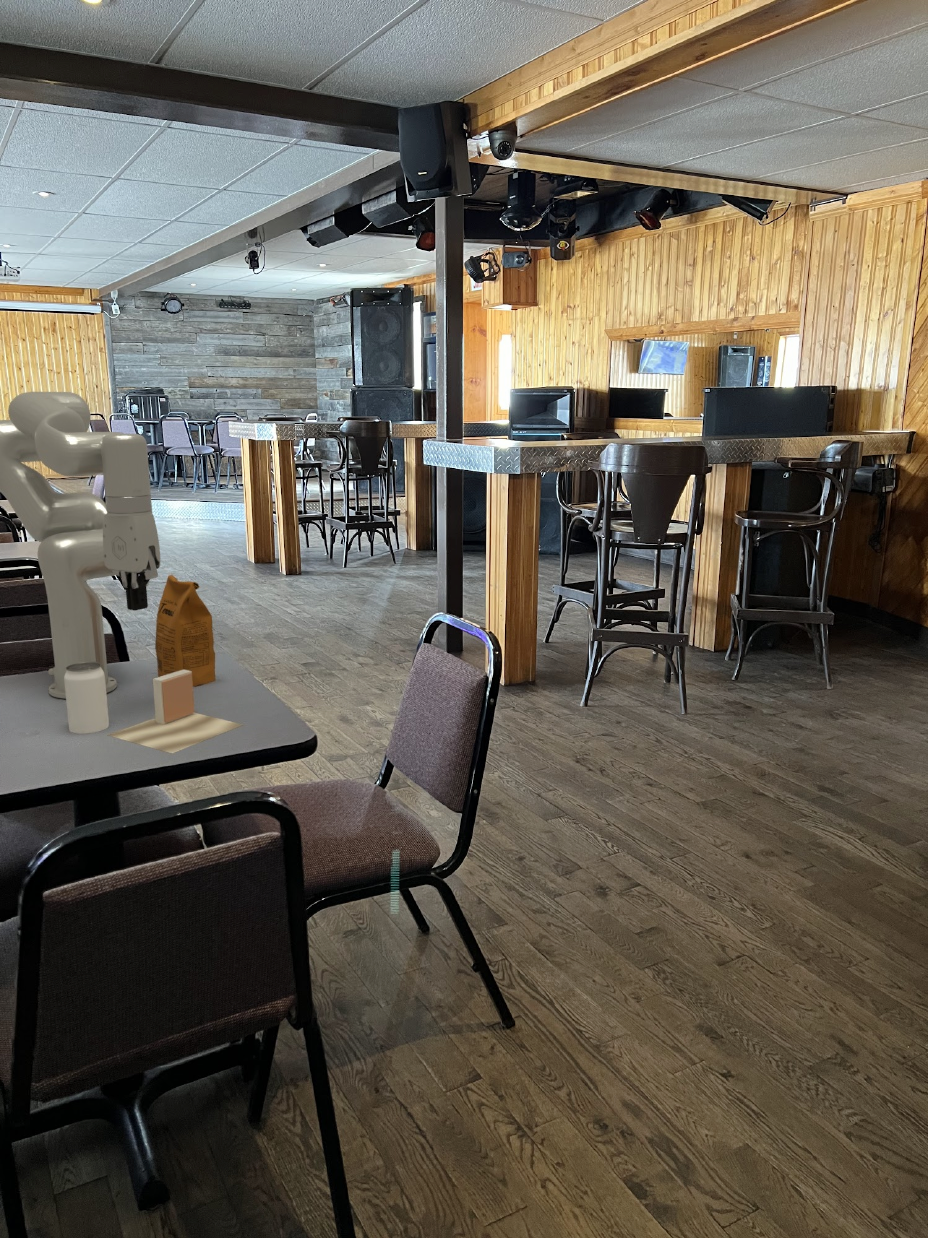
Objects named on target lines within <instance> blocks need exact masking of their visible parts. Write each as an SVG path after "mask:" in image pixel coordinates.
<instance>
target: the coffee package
mask: <svg viewBox="0 0 928 1238" xmlns="http://www.w3.org/2000/svg"><path fill="white" fill-rule="evenodd" d="M165 583H166V584H165V585H164V589H163V591H162V595H161V598H160V602H159V605H158V609H157V614H156V623H155V624H156V626H155V627H156V628H155V642H154V643H155V644H154V647H155V648H154V649H155V654H156V662H157V667H156V669H157V676H158V677H161V676H164V675H167V674H171V673H174V672H177V671H180V670H189V671H192V681H193V688H195V687H198V686H202V685H207V684H211V683H213V682H216V652H215V648H214V645H215V644H214V643H215V641H214V640H215V639H214V631H213V616H212V613H211V612H210V610H209V609H208V607H207V606H206V604H205V603H204V602H203V599H201V597H200V596H199V594H198V593H197V590H198V589H200V585H199V583H197V582H195V581H180V580H178V578H177V577H176V576H175V575H173V574H169V575H168V576H167V579H166V582H165ZM158 677H157V678H158Z"/></svg>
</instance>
